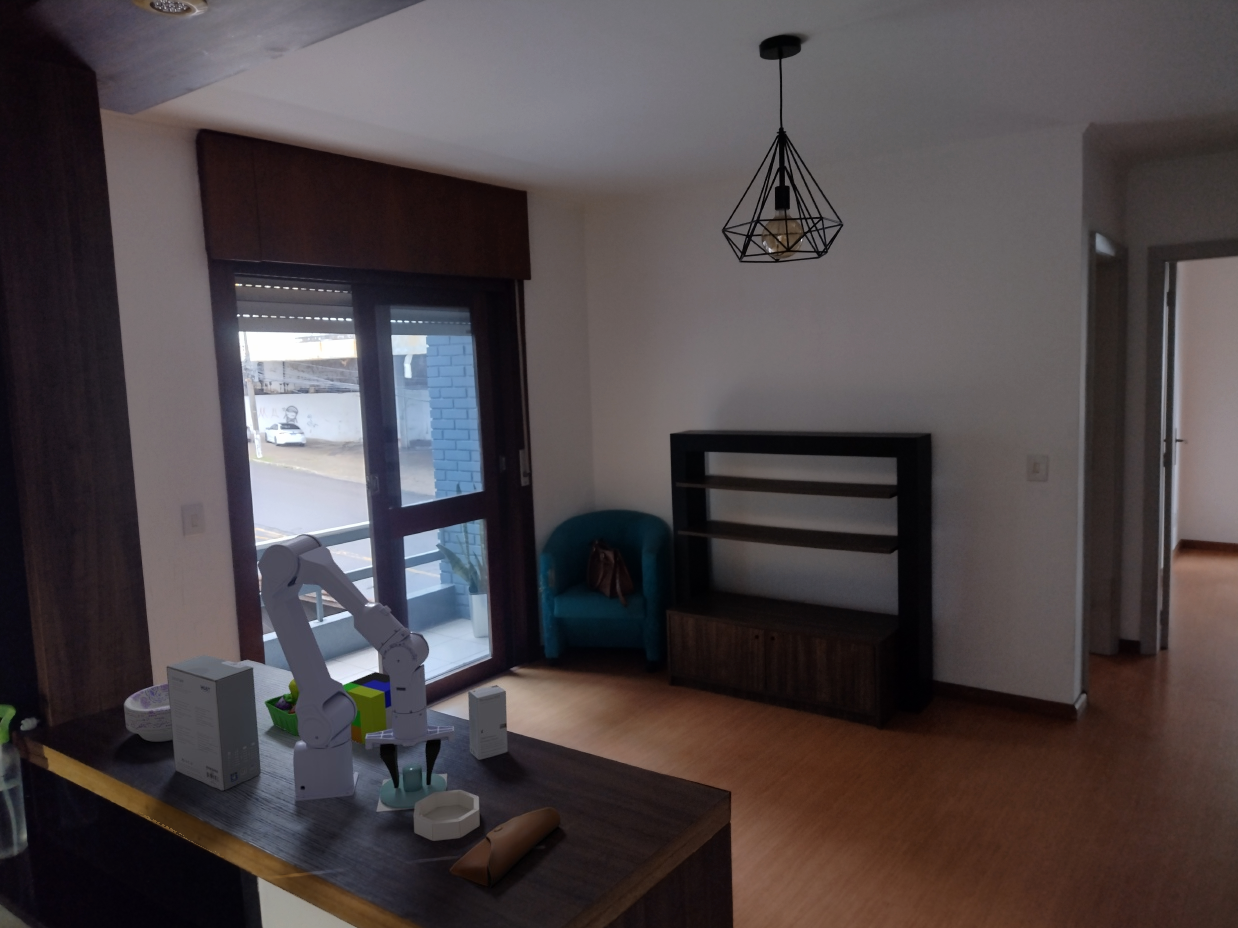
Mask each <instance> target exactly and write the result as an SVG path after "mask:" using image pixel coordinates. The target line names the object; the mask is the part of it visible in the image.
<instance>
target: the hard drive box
mask: <svg viewBox="0 0 1238 928" xmlns="http://www.w3.org/2000/svg"><path fill="white" fill-rule="evenodd" d="M165 668H166V677H167V683H168V691H169V703H170V715H171V726H172V738H173V740H172V745H173V746H172V747H173V748H172V749H173V758H174V770H175V771H176V772H178V773H181V774H183V775H184V776H187V777H189V778H192V779H195V780H197V781H198V782H199V781H200V782H202V783H204V784H206V785H208V786H210V787H211V788H216V789H218V790H219V791H222V792H223V791H224V790H225V791H226V790H228V789H231V788H233V787H235V786H237V785H239V784H242V783H244V782H246V781H248V780H251V779H252V778H255V777H257V776H259V775H261V773H262V772H261V771H262V770H261V760H260V759H261V757H260V756H261V755H260V743H259V731H258V730H259V729H258V719H257V717H258V716H257V706H256V703H257V702H256V689H255V676H254V667H252V666H249V665H245V664H241V663H238V662H235V661H230V660H226V659H223V658H219V657H215V656H211V655H208V654H207V655H206V654H201V655H198V656H195V657H191V658H188V659H185V660H181V661H178V662H175V663H172V664H169V665H167V666H166V667H165Z"/></svg>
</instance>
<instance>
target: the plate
mask: <svg viewBox="0 0 1238 928" xmlns="http://www.w3.org/2000/svg"><path fill="white" fill-rule="evenodd" d="M438 775H440V776H441V777H443V778H444V779H445V781H446V787H447V786H448V785H447V784H448V783H447V781H448V773H440V774H439V773H438ZM391 779H392V778H387V779H383V780H382V784H381V787H382V786H383V785H384V784H385V783H386V782H387V781H389V780H391ZM410 809H411V810H412V809H414V808H407V809H406V810H410ZM401 810H403V811H404V809H402V808H393V807H390V806H387V805H385V804H384V803H383V802H382V801H381V800H380V796H379V798H378V803H377V808H376V813H381V812H382V813H383V812H391V811H401Z"/></svg>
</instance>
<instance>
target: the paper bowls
mask: <svg viewBox="0 0 1238 928" xmlns="http://www.w3.org/2000/svg"><path fill="white" fill-rule="evenodd" d="M123 710H124V720H125V727H126V729H127V730H128V731H129V732H130V733H133V734H135V735H137V734H138V735H139V736H140V737H141V738H142V739H143V740H145V741H149V742H155V743H157V742H161V743H162V742H168V741H173V738H172V726H171V715H170V703H169V691H168V682H166V683H161V684H156V685H153V686H150V687H147V688H143V689H140V690H139V691H137V692H135V693H133V694H131V695H130V696H128V698H126V699H125V701H124V703H123Z"/></svg>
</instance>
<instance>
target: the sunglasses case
mask: <svg viewBox="0 0 1238 928" xmlns="http://www.w3.org/2000/svg"><path fill="white" fill-rule="evenodd" d="M561 819H562V818H561V815H560V813H559V812H558V811H557V809H556V808H554V807H552V806H546V807H542V808H539V809H536V810H535V809H534V810H531V811H529V812H526V813H524V814H521V815H518V816H513V818H510V819H509V820H507V821H505V822H504V823H501V824H499V825H497V826H496V827H494V828H493V829H492V830H491V831H489V832H488V833H487V834H486V835H485V838H484V839H482V840H481V841H480V842H478V843H477V844H476V845H475V846H473V847H472V848H471V849H469V851H467V852H466V853H465V854H463V856H462V857H461V858H459V859H458V860H457V861H456V862H455V863H454V864H453V865H452V866H451V867H450V868H449V870H448V871H449V873H450V875H454V876H457V877H462V878H464V879H466V880H469V881H472V882H474V883H477V884H479V885H482V886H485V887H488V889H491V887H493V885H496V884H497V883H498V882H499V881H500V880H501V879H502V878H503V877H504V876H505V875H506V874H507V873H508V872H509V871H510V870H511V869H512V868H513V867H514V866H515V865H516V864H517V863H518V862H520V860H521V859H522V858H524V856H526V855H527V854H528V853H529V852H530V851H532V850H533V849H534V848H535V847H536V846H537V845H538V844H539V843H541V842H542V841H543V840H544V839H545V838H547V837H548V836H549V835H550V834H551V833H552V832H554V830H556V829H557V828H558V827H559V826H560V825H561Z"/></svg>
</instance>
